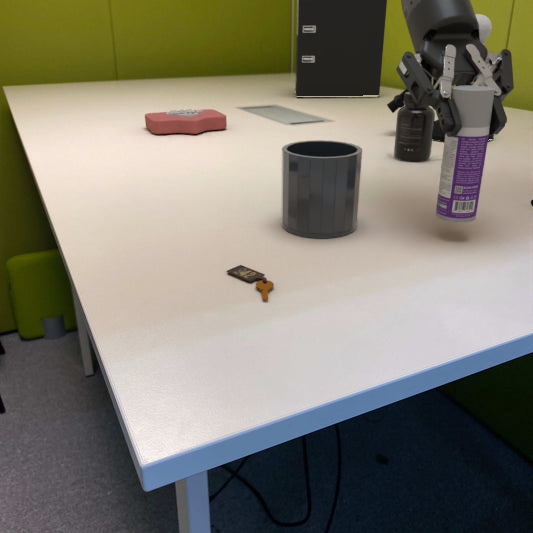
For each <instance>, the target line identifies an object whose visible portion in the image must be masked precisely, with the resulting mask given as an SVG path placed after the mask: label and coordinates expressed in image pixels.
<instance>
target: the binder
mask: <svg viewBox="0 0 533 533" xmlns="http://www.w3.org/2000/svg"><path fill="white" fill-rule="evenodd" d="M387 5H388V0H296V42H295V85H294V86H295V89H294V90H295V91H296V93H295V97H296V96H363V95H379V96H380V93H381V92H380V91H381V81H382V80H381V78H382V67H383V55H384V43H385V31H386V30H385V29H386V20H387V19H386V17H387Z"/></svg>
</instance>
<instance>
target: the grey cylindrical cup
mask: <svg viewBox="0 0 533 533" xmlns="http://www.w3.org/2000/svg"><path fill="white" fill-rule="evenodd" d="M362 159H363V148H361V146H359V145H357V144H355V143H350V142H345V141H337V140H326V139H325V140H323V139H321V140H320V139H319V140H314V139H313V140H301V141H295V142H290V143H287V144H284V145H283V146H282V148H281V189H280V190H281V193H280V195H281V197H280V198H281V200H280V201H281V203H280V204H281V206H280V209H281V210H280V211H281V212H280V213H281V214H280V221H281V227H282V229H283V230H284V231H286V232H287V233H290V234H292V235H294V236H299V237H304V238H310V239H335V238H341V237H345V236H347V235H350V234H352V233H354V232H355V231H356V230H357V227H358V220H359V219H358V216H359V204H360V190H361V189H360V188H361V173H362V162H363V161H362Z"/></svg>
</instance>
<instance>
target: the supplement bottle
mask: <svg viewBox="0 0 533 533" xmlns="http://www.w3.org/2000/svg"><path fill="white" fill-rule="evenodd" d="M403 103H404V104H405V105H404V106H403V107H402V108H399V110H398V111H397V114H396V122H395V123H396V124H395V136H394V149H393V157H394V158H395V159H397V160H399V161H401V162H402V161H403V162H409V163H411V162H412V163H413V162H414V163H415V162H416V163H419V162H424V161H425V162H426V161H427V160H429V159H430V158H431V154H432V144H433V140H432V137H433V129H434V121H436V111H435V110H434V109H433V108H432V107H431V106H428V105H425V106H424V107H420V106H418V105H417V104H416V102H415V101H414V99H413V97H412V96H411V94H410V92H406V93H405V94H404V102H403Z"/></svg>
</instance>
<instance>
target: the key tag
mask: <svg viewBox="0 0 533 533" xmlns="http://www.w3.org/2000/svg"><path fill="white" fill-rule="evenodd" d="M226 273H228V274H230V275H232V276H233V277H234V276H235V277H237V278H239V279H241V280H243V281H246V282H249V283H253V282H254V281H256V282H255V288H257V289H258V290H259V291H260V293H261V297H262V298H261V299H262V300H264V301H268V300H269V292H270V291H271V289H272V288H274V287H275V284H274V282H273V281H272V280H268V278H267V277H266V274H265V273H262V272H260V271H258V270H256V269H252V268H249V267H247V266H244V265H243V264H239V265H237V266H234V267H232V268H230V269H227V270H226Z"/></svg>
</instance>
